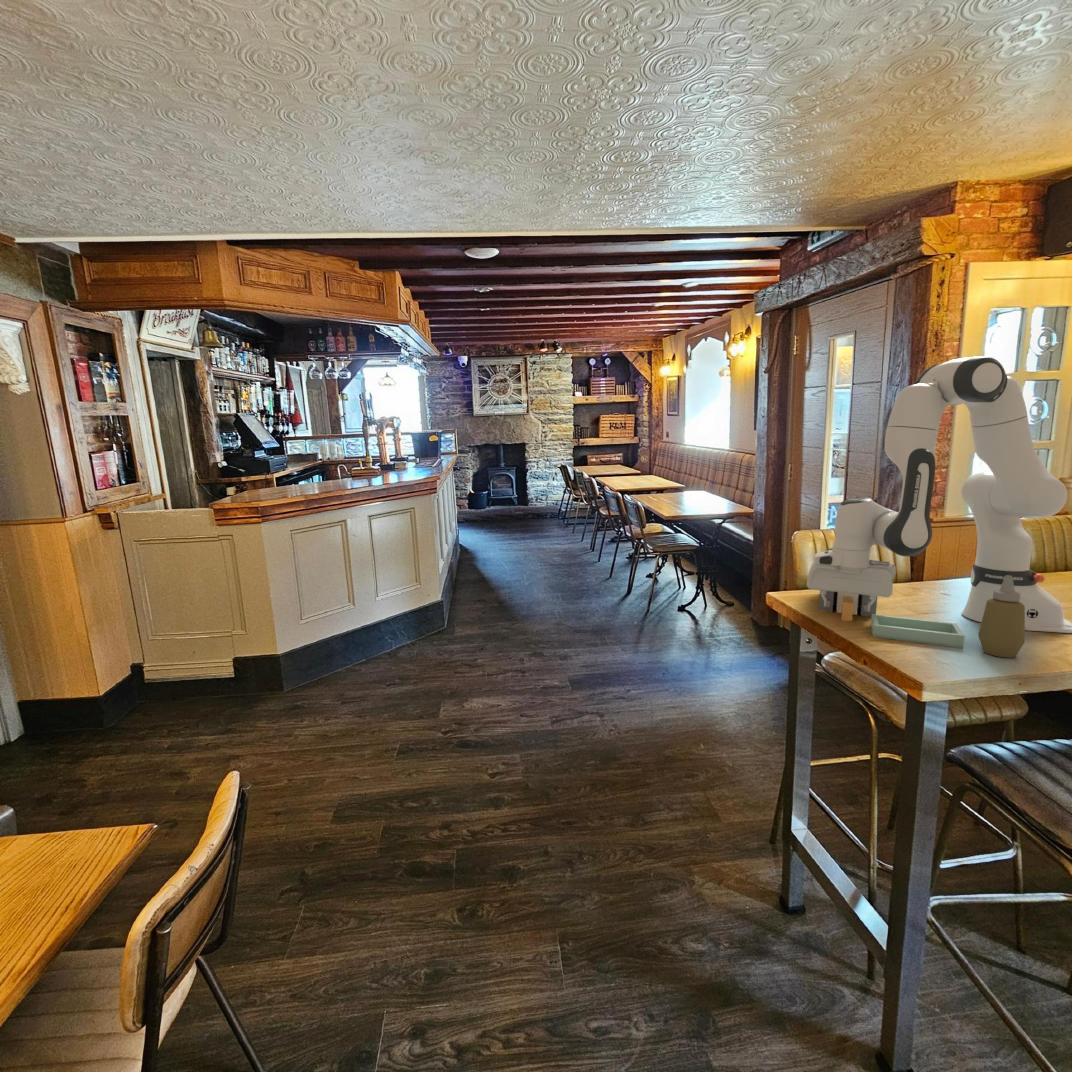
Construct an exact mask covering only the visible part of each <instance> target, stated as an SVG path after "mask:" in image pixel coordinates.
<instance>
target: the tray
mask: <svg viewBox="0 0 1072 1072" xmlns="http://www.w3.org/2000/svg"><path fill="white" fill-rule="evenodd" d="M870 629H871V635H872V637H873V638H878V639H886V640H887V639H888V640H894V641H902V642H903V641H904V642H911V643H918V644H925V645H926V644H927V645H933V646H941V647H942V646H943V647H949V648H956V649H964V642H965V634H964V633H963V631H962V630H961V628H960V626H959V625H958V623H956V622H946V621H939V620H929V619H922V618H921V619H919V618H913V617H903V616H894V615H893V616H892V615H883V614H877V613H876V614H872V616H871V621H870Z"/></svg>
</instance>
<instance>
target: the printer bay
mask: <svg viewBox="0 0 1072 1072" xmlns="http://www.w3.org/2000/svg"><path fill="white" fill-rule="evenodd" d="M869 566H870V564H869ZM820 591H821V590H819V592H820ZM837 594H838V592H832V591H826V595H825V596H826V598H827V599H829V600H830V607H825V606H824V600H823V598H822V596H821V594H820V593H819V598H818V599H819V602H818V611H822V612H831V613H832V612H833V611H834V609H833V607H834V605H835V606H837ZM869 596H870V595H860V594H858V606H857V608H859V610H860V615H861V616H864V617H865V616H866V617H872V614H876V615H877V608H878V607H877V605H878V596H876V600H875V602H874V603H873V604H872V605H871V606H870V612H867V611H863V607H864V603H865V604H867V603H868V602H869V601H870V598H869Z"/></svg>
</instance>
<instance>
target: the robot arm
mask: <svg viewBox="0 0 1072 1072" xmlns="http://www.w3.org/2000/svg"><path fill="white" fill-rule="evenodd" d="M962 404H963V405H965V406H966V408H967V410H968V411H969V419H970V425H971V430H972V431H971V432H972V437H973V443H974V449H975V454H976V455H977V457H978V458H979V459H980V460H981V461H983V462H984V463H985V465H987V466H988V468H989V469H990V470H989V471H984V472H980V473H979V472H978V473H975V474H972V475H970V476H969V477H968V478H966V480H965V481H964V483H963V485H962V487H961V496H962V500H963V501H964V502H965V504H966V505H968V507H969V509H970V511H971V513H972V516H973V519H974V523H975V526H976V527H975V528H976V535H977V538H976V539H977V541H976V554H975V562H974V564H973V565H972V569H971V573H970V584H971V588H970V591H969V594H968V598H967V601H966V604H965V605H964V608H963V610H962V611H961V615H963V616H964V617H965V618H968V619H969V620H973V621H976V622H979V623H981V622H982V618H983V614H984V610H985V606H986V602H987V601H988V600H990V599H992V598H993V591H994V590H997V589H1000V587H1001V585H1002V583H1003V580H1004V578H1005V576H1006V575H1010V576H1012V577H1013V583H1014V590H1015V591H1016V592H1019V593H1020V594H1021V595H1020V601H1018V602H1021V603H1022V604H1023V605H1024V606H1025V631H1030V632H1031V631H1035V632H1048V633H1060V634H1061V633H1063V634H1064V633H1065V634H1072V622H1071V621H1070V620H1068V619H1066V618H1065V617H1064V609H1063V606H1062V604H1061V602H1060V601H1059V600H1058V599H1056V597H1054V596H1053V595H1051V594H1050V593H1049V592H1048V591H1047V590H1045V589H1043V588H1042V587H1041V586H1039V585H1038V584H1037V583H1044V581H1046V578H1045V575H1043V574H1041V573H1039V572H1036V571H1035V570H1032V569H1030V565H1031V558H1032V557H1031V556H1032V550H1033V543H1034V542H1033V539H1032V537H1031V536H1030V534H1029V533H1028V532H1027V531H1026V530H1025V529H1024V527H1023V524H1022V521H1021V518H1025V519H1038V518H1047V517H1051V516H1055V515H1056V514H1057V513H1059V512H1061V510H1063V508H1064V507H1065V505H1066V503H1067V500H1068V490H1067V487H1066V485H1065V484H1064V482H1062V481H1061V480H1060V479H1058V478H1056V476H1054V475H1053V474H1052V473H1051V472H1050V471H1049V470H1048V468H1047V467H1046V466H1045V464H1044V463H1043V461H1042V460H1041V458H1040V456H1039V454H1038V453H1037V450H1036V448H1035V446H1034V442H1033V440H1032V433H1031V428H1030V423H1029V417H1028V411H1027V407H1026V403H1025V398H1024V395H1023V393H1022V391H1021V388H1020V386H1019V383H1018V381H1017V380H1016V379H1015V378H1013V377H1012V376H1008V375H1007V374H1006V371H1005V368H1004V367H1003V365H1002V364H1001V362H999V360H997V359H995V358H994V357H990V356H984V355H983V356H982V355H980V356H979V355H978V356H976V355H975V356H972V357H961V358H957V359H956V358H955V359H951V360H949V361H946V362H943V363H936V364H934V365H932V366H930V367H928V368H926V369H924V370H923V371H922V372H921V373H920V374H919V375H918V377H917V378H916V380H915V382H914V384H911V385H908V386H906V387H904V388H903V389H902V390H901V391H899V393H898V395H897V397H896V400H895V402H894V404H893V407H892V410H891V413H890V415H889V418H888V422H887V428H886V431H885V436H884V452H885V454H886V456H887V458H889V459H890V461H891V462H893V463H894V464H895V465H896V466H897V468H898V469H899V471H900V473H901V476H902V488H901V494H900V500H899V501H900V502H899V509H898V511H895V510H892V509H890V508H887V507H885V506H882V505H880V504H878V502H876V501H874V500H873V499H872V498H870V497H862V496H861V497H851V498H848V499H845V500H843V501H841V502H840V504H839V506H838V508H837V511H836V516H835V523H834V524H835V525H834V534H835V539H834V542H833V545H832V548H833V550H829V551H827V550H825V551H820V552H816V553H815V554H814V557H813V563H812V564H811V566H810V568H809V570H808V571H809V572H808V575H807V579H806V587H807V588H808V589H809V590H813V591H814V590H815V591H819V595H820V594H821V596H822V598H823V600H824V606H825V607H830V600H829V599H827V598H826V596H825V595H826V591H832V592H842V593H851V594H860V595H870V596H869V598H870V601H869V602H868V603H867V604H865V603H864V607H863V611H867V612H870V606H871V605H872V604H873V603H874V602H875V600H876V596H877V597H881V598H890V597H891V596H892V595H893V589H894V585H893V579H894V578H895V577H896V574H897V573H896V571H897V568H896V566H895V565H894V564H893V563H890V561H887V560H886V561H882V560H881V561H879V560H874V559H873V560H871V555H872V554H871V553H872V547H873V546H874V545H878V546H880V547H882V548H885V549H888V550H889V551H891V552H893V553H894V554H896V555H898V556H901V557H914V556H917V555H919V554H921V553H922V552H924V551H925V550H926V549H928V547H929V545H930V544H931V542H932V539H933V529H932V528H933V527H932V523H931V522H932V521H931V514H930V513H931V507H932V505H931V504H932V497H933V491H934V490H933V489H934V484H935V483H934V482H935V475H936V454H935V453H936V445H937V438H938V434H939V431H940V425H941V419H942V415H943V413H944V412H945V411H946V409H947V408H948V407H949V406H958V405H962ZM869 564H870V566H869ZM820 590H821V591H820Z"/></svg>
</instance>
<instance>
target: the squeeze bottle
mask: <svg viewBox="0 0 1072 1072" xmlns="http://www.w3.org/2000/svg"><path fill="white" fill-rule="evenodd" d="M1020 595H1021V594H1020V593H1019V592H1016V591H1015V590H1014V583H1013V577H1012V576H1010V575H1006V576H1005V578H1004V580H1003V583H1002V585H1001V587H1000V589H997V590H994V591H993V598H992V599H990V600H988V601H987V602H986V606H985V610H984V614H983V618H982V622H980V626H979V630H978V638H979V642H980V645H981V649H982V651H983V652H984V653H986V654H987V655H991V656H994V657H999V658H1008V659H1010V658H1011V659H1012V658H1016V656H1017V655H1018V654H1019V652H1020V650H1021V649H1022V647H1024V645H1025V642H1026V640H1025V639H1026V636H1025V634H1026V630H1025V606H1024V605H1023V604H1022V603H1021V602H1018V601H1020Z"/></svg>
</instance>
